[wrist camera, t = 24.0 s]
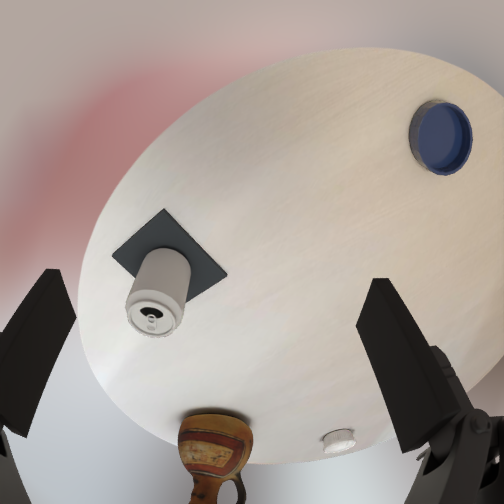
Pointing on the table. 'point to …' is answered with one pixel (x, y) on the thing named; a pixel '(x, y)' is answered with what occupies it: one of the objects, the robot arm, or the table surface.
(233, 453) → the ceramic pitcher
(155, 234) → the mat
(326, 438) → the ramekin
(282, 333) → the table surface
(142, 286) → the can
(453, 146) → the dish
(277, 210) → the table surface
